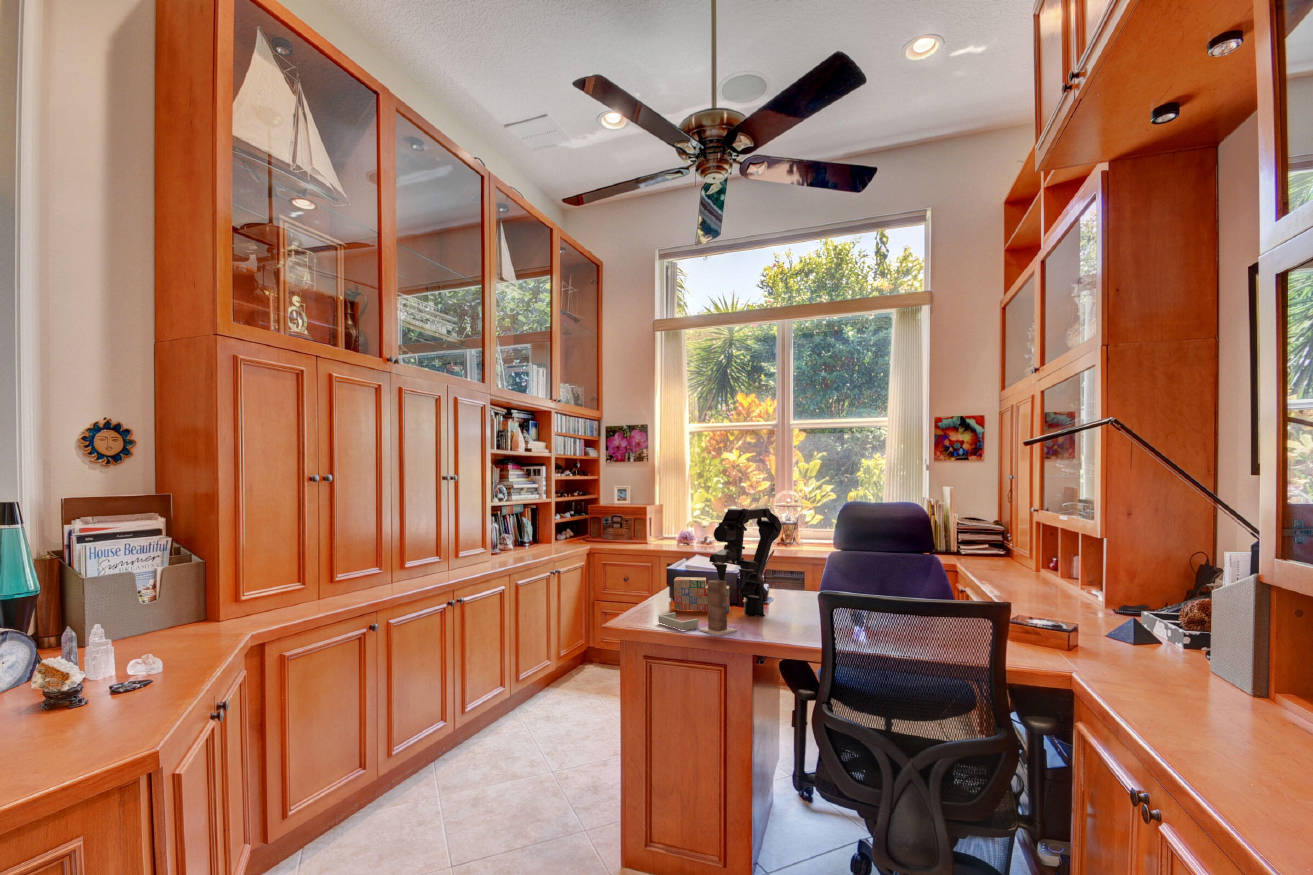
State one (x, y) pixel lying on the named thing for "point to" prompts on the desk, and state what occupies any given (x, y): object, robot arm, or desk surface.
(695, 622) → the grey u-shaped bracket
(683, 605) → the stack of blocks
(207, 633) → the desk surface
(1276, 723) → the desk surface
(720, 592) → the walnut block
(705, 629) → the grey mat
